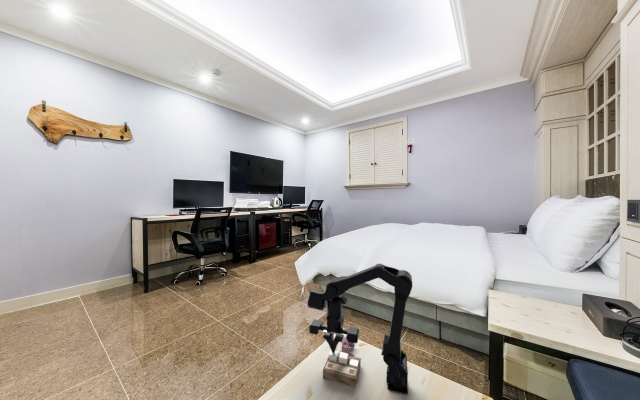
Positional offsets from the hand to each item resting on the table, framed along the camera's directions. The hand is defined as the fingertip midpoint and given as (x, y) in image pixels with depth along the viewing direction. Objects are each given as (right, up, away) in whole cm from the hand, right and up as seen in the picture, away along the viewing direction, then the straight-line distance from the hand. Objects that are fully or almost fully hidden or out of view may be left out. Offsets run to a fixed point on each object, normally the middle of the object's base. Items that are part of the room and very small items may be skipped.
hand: (333, 352), depth 87 cm
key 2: (+7, -5, -2) cm, 9 cm away
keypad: (+3, -5, -3) cm, 7 cm away
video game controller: (+6, -5, +7) cm, 11 cm away
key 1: (0, -3, 0) cm, 3 cm away
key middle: (+4, -3, -1) cm, 5 cm away
